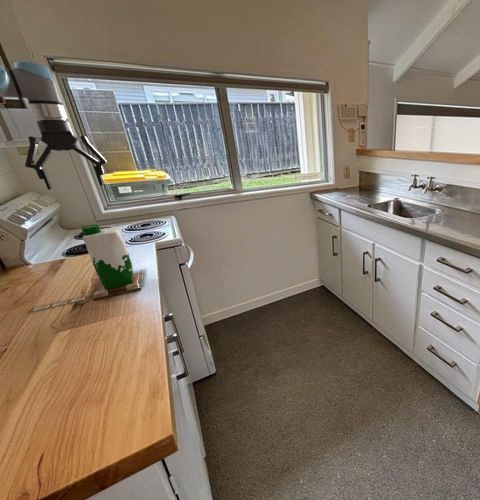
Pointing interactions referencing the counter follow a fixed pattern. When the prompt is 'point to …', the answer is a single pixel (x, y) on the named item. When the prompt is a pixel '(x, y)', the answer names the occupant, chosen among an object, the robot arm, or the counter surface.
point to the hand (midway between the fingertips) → (77, 186)
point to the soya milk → (108, 256)
